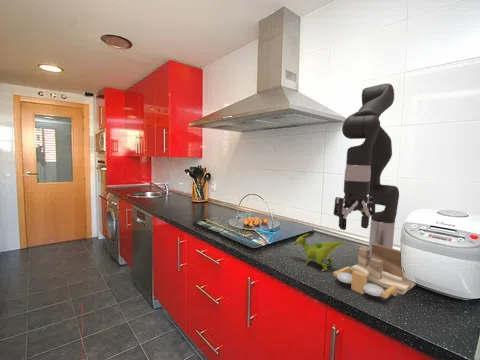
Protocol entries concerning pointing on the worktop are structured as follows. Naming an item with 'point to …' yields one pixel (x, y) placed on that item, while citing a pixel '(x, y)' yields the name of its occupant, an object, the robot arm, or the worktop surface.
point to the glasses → (363, 283)
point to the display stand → (383, 267)
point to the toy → (318, 251)
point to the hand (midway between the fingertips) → (353, 228)
